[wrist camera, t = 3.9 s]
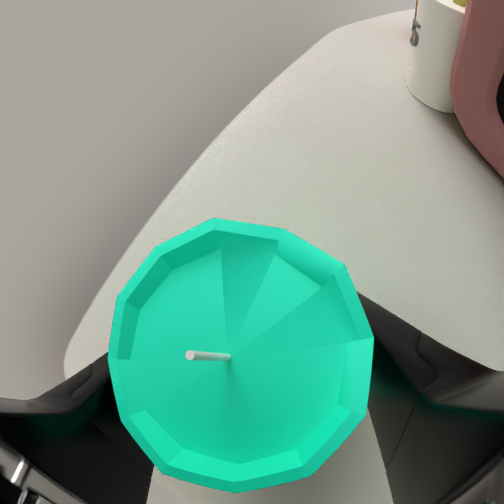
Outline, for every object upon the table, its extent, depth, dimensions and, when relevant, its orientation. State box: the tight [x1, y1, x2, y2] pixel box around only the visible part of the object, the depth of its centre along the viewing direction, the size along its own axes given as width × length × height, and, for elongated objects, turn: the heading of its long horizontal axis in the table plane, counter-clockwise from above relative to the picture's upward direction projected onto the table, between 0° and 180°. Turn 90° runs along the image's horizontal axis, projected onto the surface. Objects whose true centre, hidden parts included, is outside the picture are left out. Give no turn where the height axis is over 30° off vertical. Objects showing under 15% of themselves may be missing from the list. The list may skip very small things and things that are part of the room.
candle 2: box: [406, 0, 467, 113], centre depth 13 cm, size 6×6×15 cm
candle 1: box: [108, 218, 374, 493], centre depth 9 cm, size 6×6×12 cm
